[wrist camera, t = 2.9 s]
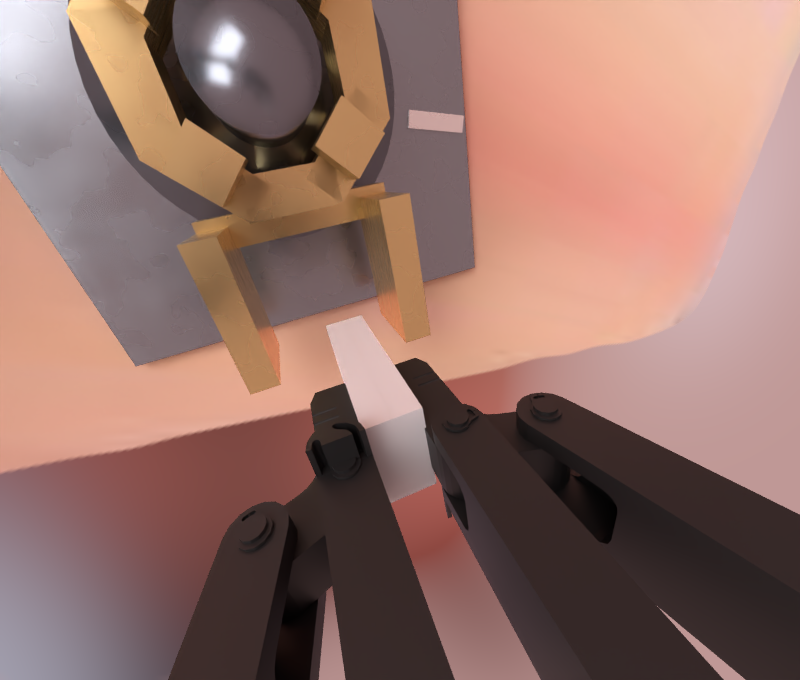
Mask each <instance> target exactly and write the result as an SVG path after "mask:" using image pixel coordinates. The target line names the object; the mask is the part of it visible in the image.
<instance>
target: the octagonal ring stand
mask: <svg viewBox="0 0 800 680" xmlns="http://www.w3.org/2000/svg"><path fill="white" fill-rule="evenodd" d="M175 1H176V0H70V2H69V5H68V8H67V10H66V12H67V14H68V16H69V18H70V20H71V22H72V24H73V26H74V28H75V30H76V32H77V34H78V36H79V38H80V40H81V42H82V44H83V46H84V48H85V50H86V53H87V55H88V57H89V59H90V61H91V63H92V65H93V67H94V69H95V71H96V73H97V75H98V77H99V79H100V81H101V83H102V85H103V87H104V89H105V91H106V93H107V95H108V97H109V99H110V101H111V103H112V105H113V107H114V110H115V112H116V114H117V116H118V118H119V120H120V122H121V124H122V126H123V128H124V130H125V132H126V134H127V136H128V138H129V140H130V142H131V144H132V146H133V148H134V150H135V152H136V154H137V156H138V158H139V160H140V161H142V162H143V163H145V164H147V165H149V166H150V167H152V168H154V169H156V170H157V171H159V172H161V173H162V174H164V175H166V176H168V177H169V178H171V179H173V180H175V181H176V182H178V183H180V184H182V185H183V186H185V187H187V188H189V189H190V190H192V191H194V192H196V193H197V194H199V195H201V196H203V197H204V198H206V199H208V200H210V201H212V202H213V203H215V204H217V205H219V206H220V207H222V208H224V209H226V210H228V211H229V212H231V214H227V215H222V216H217V217H213V218H208V219H203V220H198V221H195V222H193V223H191V224H192V226H193V229H194V231H195V233H196V234H195V235H193V236H191V237H190V238H188V239H186V240H185V241H183V242H181V243H180V244H178V245H177V248H178V250H179V252H180V254H181V256H182V258H183V260H184V262H185V264H186V266H187V268H188V270H189V272H190V274H191V276H192V278H193V280H194V282H195V284H196V286H197V288H198V290H199V292H200V294H201V296H202V298H203V300H204V302H205V304H206V306H207V308H208V310H209V312H210V314H211V316H212V318H213V320H214V322H215V324H216V326H217V328H218V330H219V332H220V334H221V336H222V338H223V340H224V342H225V344H226V346H227V348H228V350H229V352H230V354H231V356H232V358H233V360H234V362H235V364H236V366H237V368H238V370H239V372H240V374H241V376H242V378H243V380H244V382H245V384H246V386H247V388H248V390H249V392H250V394H254V393H257V392H260V391H263V390H266V389H269V388H272V387H275V386H278V385H281V382H280V357H279V343H278V341H277V338H276V336H275V333H274V331H273V328H272V326H271V323H270V321H269V318H268V316H267V314H266V311H265V309H264V306H263V304H262V301H261V299H260V296H259V294H258V291H257V289H256V287H255V284H254V282H253V279H252V277H251V274H250V272H249V269H248V267H247V264H246V262H245V260H244V257H243V255H242V252H241V250H240V248H241V247H245V246H249V245H253V244H258V243H262V242H266V241H270V240H275V239H279V238H283V237H287V236H292V235H296V234H300V233H304V232H309V231H313V230H317V229H321V228H326V227H330V226H334V225H338V224H343V223H347V222H351V221H355V220H360V221H361V225H362V230H363V234H364V239H365V243H366V248H367V252H368V257H369V261H370V266H371V270H372V275H373V279H374V284H375V288H376V293H377V297H378V302H379V306H380V311H381V314H382V315H383V316H384V317H385V318H386V320H387V321H388V322H389V323H390V324H391V325H392V327H393V328H394V329H395V330H396V331H397V332H398V334H399V335H400V336H401V337H402V338H403V340H404V341H405V342H406V343H407V342H410V341H413V340H416V339H419V338H422V337H425V336H428V335H430V328H429V321H428V314H427V307H426V301H425V294H424V287H423V280H422V273H421V267H420V260H419V253H418V246H417V240H416V233H415V226H414V219H413V212H412V206H411V199H410V193H396V192H385V187H384V182H378V183H373V184H368V185H363V186H359V187H354V188H352V186H353V184H354V182H355V180H356V179H360V177H361V175H362V173H363V172H364V170H365V168H366V166H367V164H368V163H369V161H370V159H371V157H372V155H373V154H374V152H375V150H376V148H377V147H378V145H379V143H380V141H381V139H382V138H383V136H384V134H385V133H384V132H383V130H384V128H385V127H386V125H387V123H388V121H389V119H390V115H389V108H388V102H387V95H386V89H385V83H384V76H383V70H382V64H381V57H380V51H379V45H378V38H377V32H376V26H375V19H374V13H373V7H372V0H297V2H298V3H299V4H300V6H301V8H302V9H303V11H304V12H305V14H306V16H307V18H308V20H309V22H310V24H311V26H312V28H313V31H314V33H315V36H316V38H317V39H318V40H319V41H320V42H321V45H322V50H323V54H324V59H325V63H326V68H327V72H328V77H329V81H330V86H331V90H332V95H333V99H334V104H335V105H334V106H333V108H332V110H331V112H330V114H329V116H328V118H327V120H326V122H325V124H324V126H323V128H322V130H321V132H320V133H319V135H318V137H317V139H316V141H315V143H314V145H313V147H312V149H311V150H312V151H313V152H315V153H316V155H315V157H314V159H313V160H312V162H311V163H309V164H304V165H298V166H293V167H288V168H282V169H277V170H272V171H267V172H261V173H256V174H252V173H250V172H249V171H247V170H245V167H246V165H247V163H248V160H247V159H246V158H245V157H244V156H242V155H241V154H239V153H238V152H236V151H235V150H233V149H232V148H230V147H229V146H227V145H226V144H224V143H223V142H221V141H220V140H218V139H216V138H215V137H213V136H212V135H210V134H209V133H207V132H206V131H204V130H203V129H201V128H200V127H198V126H197V125H195V124H194V123H192V122H191V121H189V120H188V119H187V117H186V115H185V112H184V110H183V107H182V105H181V102H180V100H179V98H178V95H177V93H176V90H175V88H174V85H173V83H172V80H171V78H170V75H169V73H168V71H167V68H166V66H165V63H164V61H163V58H164V56H165V53H166V51H167V48H168V46H169V43H170V41H171V38H172V36H173V11H174V4H175Z"/></svg>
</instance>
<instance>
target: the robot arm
mask: <svg viewBox="0 0 800 680" xmlns="http://www.w3.org/2000/svg"><path fill="white" fill-rule="evenodd" d="M326 329H327V332H328V335H329V338H330V341H331V344H332V348H333V351H334V354H335V357H336V360H337V363H338V366H339V370H340V373H341V376H342V379H343V382H344V383H343V384H341V385H338V386H335V387H332V388H329V389H326V390H323V391H320V392H317V393H315V395H314V397H313V400H312V402H311V404H310V405H311V411H312V416H313V424H314V430H315V432H314V433H313V434H312V436H311V437H310V439H309V440H308V442H307V446H306V454H307V456H308V458H309V460H310V463H311V465H312V467H313V470H314V472H315V474H316V476H315V478H314V480H313V482H312V483H311V484H310V485H309V486H308V488H307V489H306V490H304V491H303V492H302V493H301V494H300V495H298V496H297V497H296V498H294V499H293V500H292V501H290V502H289V503H287V504H286V505H284V506H283V505H281V504H279V503H277V502H263V503H260V504H258V505H255V506H252V507H251V508H249V509H248V510H246V511H245V512H243V513H242V514H240V516H238V518H237V519H236V520H235V521H234V522H233V523H232V524H231V525H230V527H229V528H228V530H227V532H226V533H225V535H224V537H223V539H222V541H221V544H220V547H219V549H218V552H217V555H216V557H215V559H214V562H213V565H212V567H211V570H210V572H209V575H208V578H207V580H206V583H205V585H204V588H203V591H202V593H201V596H200V599H199V601H198V604H197V606H196V609H195V612H194V614H193V617H192V619H191V622H190V624H189V627H188V630H187V632H186V635H185V637H184V640H183V642H182V645H181V648H180V650H179V653H178V656H177V658H176V661H175V663H174V666H173V669H172V671H171V674H170V676H169V679H168V680H318V679H319V668H320V656H321V646H322V635H323V623H324V613H325V601H326V591H327V590H328V589H329V588H330V587H331V586H333V593H334V600H335V607H336V615H337V622H338V628H339V636H340V642H341V650H342V657H343V664H344V671H345V678H346V680H455V679H454V677H453V674H452V671H451V669H450V666H449V663H448V660H447V657H446V655H445V652H444V649H443V646H442V644H441V641H440V638H439V636H438V633H437V630H436V628H435V624H434V622H433V619H432V616H431V613H430V611H429V608H428V605H427V602H426V599H425V597H424V594H423V591H422V589H421V586H420V583H419V581H418V578H417V575H416V572H415V569H414V566H413V564H412V561H411V558H410V556H409V553H408V550H407V547H406V545H405V542H404V539H403V536H402V534H401V531H400V528H399V526H398V522H397V520H396V517H395V514H394V511H393V509H392V506H391V503H392V502H394V501H396V500H399V499H401V498H403V497H406V496H408V495H410V494H412V493H415V492H417V491H419V490H422V489H424V488H426V487H429V486H431V485H433V484H436V479H435V474H436V475H437V477H438V479H439V481H440V483H441V485H442V490H443V496H444V501H445V507H446V512H447V515H448V518H450V517H452V514H453V516H454V518H455V520H456V521H457V523H458V525H459V527H460V529H461V530H462V533H463V534H464V536H465V538H466V540H467V542H468V544H469V546H470V547H471V550H472V551H473V553H474V555H475V557H476V559H477V561H478V563H479V565H480V566H481V568H482V570H483V572H484V574H485V576H486V578H487V580H488V581H489V583H490V585H491V587H492V589H493V591H494V593H495V594H496V596H497V598H498V600H499V602H500V604H501V606H502V607H503V609H504V611H505V613H506V615H507V617H508V619H509V620H510V623H511V624H512V626H513V628H514V630H515V632H516V634H517V636H518V638H519V639H520V641H521V643H522V645H523V647H524V649H525V650H526V653H527V654H528V656H529V658H530V660H531V661H532V664H533V666H534V667H535V669H536V671H537V673H538V675H539V677H540V679H541V680H723V679H722V678H721V676H720V675H719V674H718V673H717V672H716V671H715V670H714V669H713V667H711V666H710V664H709V663H708V662H707V661H706V660H705V659H704V658H703V657H702V655H701V654H700V653H699V652H698V651H697V650H696V649H695V648H694V647H693V645H692V644H691V643H690V642H689V641H688V640H687V639H686V638H685V637H684V635H683V634H682V633H681V632H680V631H679V630H678V629H677V628H676V627H675V625H674V624H673V623H672V622H671V621H670V620H669V619H668V618H667V617H666V616H665V615H664V614H663V612H662V611H661V610H660V609H662V610H663V611H664V612H665V613H667V614H668V615H669V616H670V617H671V618H672V619H674V620H675V621H676V622H677V623H678V624H680V625H681V626H682V627H683V628H684V629H686V630H687V631H688V632H689V633H690V634H692V635H693V636H694V637H695V638H696V639H698V640H699V641H700V642H701V643H702V644H704V645H705V646H706V647H707V648H708V649H710V650H711V651H712V652H714V654H716V655H717V656H718V657H719V658H720V659H722V660H723V661H724V662H725V663H726V664H728V665H729V666H730V667H731V668H733V669H734V670H735V671H736V672H737V673H738V674H740V675H741V676H742V677H743V678H744V679H746V680H800V515H799V514H797V513H795V512H793V511H791V510H789V509H787V508H785V507H783V506H781V505H779V504H777V503H775V502H773V501H771V500H769V499H767V498H765V497H763V496H761V495H759V494H757V493H755V492H753V491H751V490H749V489H747V488H745V487H743V486H741V485H739V484H737V483H735V482H733V481H731V480H729V479H726V478H724V477H722V476H720V475H718V474H716V473H714V472H712V471H710V470H708V469H706V468H704V467H702V466H700V465H698V464H696V463H694V462H692V461H690V460H688V459H686V458H684V457H682V456H680V455H678V454H676V453H674V452H672V451H670V450H668V449H666V448H664V447H662V446H660V445H658V444H655V443H654V442H652V441H650V440H648V439H645V438H643V437H641V436H639V435H637V434H635V433H633V432H631V431H629V430H627V429H625V428H623V427H621V426H619V425H617V424H615V423H613V422H611V421H609V420H607V419H605V418H603V417H601V416H599V415H597V414H595V413H593V412H591V411H589V410H587V409H585V408H583V407H580V406H579V405H577V404H575V403H573V402H571V401H569V400H567V399H564V398H563V397H559V396H557V395H554V394H549V393H534V394H530V395H527V396H525V397H523V398H522V399H521V400H520V401H519V402H518V403H517V408H516V412H511V413H502V414H488V415H487V414H483V413H482V412H480V411H479V410H478V409H476V408H475V407H473V406H469V405H467V404H462V403H461V402H460V401H459V400H458V399H457V398H456V396H455V395H454V394H453V393H452V392H451V391H450V389H449V388H448V387H447V386H446V385H445V383H444V382H443V381H442V380H441V379H440V378H439V376H438V375H437V374H436V373H434V371H433V369H432V368H431V367H430V366H429V365H428V364H427V363H426V362H424V361H421V360H419V359H417V358H414V359H411V360H408V361H405V362H402V363H399V364H396V365H394V364H393V362H392V361H391V359H390V358H389V356H388V355H387V353H386V352H385V350H384V349H383V347H382V346H381V344H380V343H379V341H378V340H377V338H376V337H375V335H374V334H373V332H372V331H371V329H370V328H369V326H368V325H367V323H366V322H365V320H364V319H363V317H362V315H360V316H356V317H353V318H350V319H346V320H343V321H340V322H336V323H333V324H330V325H326ZM434 472H435V473H434ZM451 512H452V513H451ZM656 605H657V606H658V607H659V608H660V609H659V608H658V607H657V606H656Z"/></svg>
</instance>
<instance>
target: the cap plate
mask: <svg viewBox="0 0 800 680" xmlns="http://www.w3.org/2000/svg"><path fill="white" fill-rule="evenodd" d="M69 2H70V0H0V166H1V168H2V169H3V170H4V172H5V173H6V175H7V176H8V178H9V179H10V181H11V182H12V184H13V185H14V187H15V188H16V190H17V191H18V193H19V194H20V196H21V197H22V199H23V200H24V202H25V203H26V205H27V206H28V207H29V209H30V210H31V212H32V213H33V215H34V216H35V218H36V219H37V221H38V222H39V224H40V225H41V227H42V228H43V230H44V231H45V233H46V234H47V236H48V237H49V239H50V240H51V241H52V243H53V244H54V246H55V247H56V249H57V250H58V252H59V253H60V255H61V256H62V258H63V259H64V261H65V262H66V264H67V265H68V267H69V268H70V270H71V271H72V273H73V274H74V276H75V277H76V278H77V280H78V281H79V283H80V284H81V286H82V287H83V289H84V290H85V292H86V293H87V295H88V296H89V298H90V299H91V301H92V302H93V304H94V305H95V307H96V308H97V310H98V311H99V312H100V314H101V315H102V317H103V318H104V320H105V321H106V323H107V324H108V326H109V327H110V329H111V330H112V332H113V333H114V335H115V336H116V338H117V339H118V341H119V342H120V344H121V345H122V346H123V348H124V349H125V351H126V352H127V354H128V355H129V357H130V358H131V360H132V361H133V363H134V364H135V366H139V365H142V364H146V363H149V362H152V361H156V360H159V359H163V358H166V357H169V356H173V355H176V354H180V353H183V352H187V351H190V350H193V349H197V348H200V347H204V346H207V345H211V344H214V343H217V342H221V341H224V340H223V338H222V336H221V334H220V332H219V330H218V328H217V326H216V324H215V322H214V320H213V318H212V316H211V314H210V312H209V310H208V308H207V306H206V304H205V302H204V300H203V298H202V296H201V294H200V292H199V290H198V288H197V286H196V284H195V282H194V280H193V278H192V276H191V274H190V272H189V270H188V268H187V266H186V264H185V262H184V260H183V258H182V256H181V254H180V252H179V250H178V248H177V245H178V244H180V243H181V242H183V241H185V240H186V239H188V238H190V237H191V236H193V235H195V234H196V233H195V231H194V229H193V226H192V224H191V223H193V222H195V221H198V220H203V219H208V218H213V217H217V216H222V215H227V214H231V212H229V211H228V210H226V209H224V208H222V207H220V206H219V205H217V204H215V203H213V202H212V201H210V200H208V199H206V198H204V197H203V196H201V195H199V194H197V193H196V192H194V191H192V190H190V189H189V188H187V187H185V186H183V185H182V184H180V183H178V182H176V181H175V180H173V179H171V178H169V177H168V176H166V175H164V174H162V173H161V172H159V171H157V170H156V169H154V168H152V167H150V166H149V165H147V164H145V163H143V162H142V161H140V160H139V158H138V156H137V154H136V152H135V150H134V148H133V146H132V144H131V142H130V140H129V138H128V136H127V134H126V132H125V130H124V128H123V126H122V124H121V122H120V120H119V118H118V116H117V114H116V112H115V110H114V107H113V105H112V103H111V101H110V99H109V97H108V95H107V93H106V91H105V89H104V87H103V85H102V83H101V81H100V79H99V77H98V75H97V73H96V71H95V69H94V67H93V65H92V63H91V61H90V59H89V57H88V55H87V53H86V50H85V48H84V46H83V44H82V42H81V40H80V38H79V36H78V34H77V32H76V30H75V28H74V26H73V24H72V22H71V20H70V18H69V16H68V14H67V12H66V10H67V8H68V5H69ZM372 7H373V13H374V19H375V26H376V32H377V38H378V45H379V51H380V57H381V64H382V70H383V76H384V83H385V89H386V95H387V102H388V108H389V115H390V119H389V121H388V123H387V125H386V127H385V128H384V130H383V132H384V133H385V134H384V136H383V138H382V139H381V141H380V143H379V145H378V147H377V148H376V150H375V152H374V154H373V155H372V157H371V159H370V161H369V163H368V164H367V166H366V168H365V170H364V172H363V173H362V175H361V177H360V179H356V180H355V182H354V184H353V186H352V188H354V187H359V186H363V185H368V184H373V183H378V182H384V187H385V192H396V193H410V199H411V206H412V212H413V219H414V226H415V233H416V240H417V246H418V253H419V260H420V267H421V273H422V280H423V282H426V281H429V280H433V279H436V278H440V277H443V276H446V275H450V274H453V273H457V272H460V271H463V270H467V269H470V268H474V267H475V265H474V250H473V234H472V219H471V204H470V189H469V174H468V158H467V143H466V128H465V113H464V98H463V82H462V67H461V52H460V37H459V22H458V6H457V0H372ZM163 61H164V63H165V66H166V68H167V71H168V73H169V75H170V78H171V80H172V83H173V85H174V88H175V90H176V93H177V95H178V98H179V100H180V102H181V105H182V107H183V110H184V112H185V115H186V117H187V119H188V120H189V121H191V122H192V123H194V124H195V125H197V126H198V127H200V128H201V129H203V130H204V131H206V132H207V133H209V134H210V135H212V136H213V137H215V138H216V139H218V140H220V141H221V142H223V143H224V144H226V145H227V146H229V147H230V148H232V149H233V150H235V151H236V152H238V153H239V154H241V155H242V156H244V157H245V158H246V159H247V160H248V163H247V165H246V167H245V170H247V171H249V172H250V173H252V174H256V173H261V172H267V171H272V170H277V169H282V168H288V167H293V166H298V165H304V164H309V163H311V162H312V160H313V159H314V157H315V155H316V153H315V152H313V151H312V150H311V149H312V147H313V145H314V143H315V141H316V139H317V137H318V135H319V133H320V132H321V130H322V128H323V126H324V124H325V122H326V120H327V118H328V116H329V114H330V112H331V110H332V108H333V106H334V105H335V104H334V99H333V95H332V90H331V86H330V81H329V77H328V72H327V68H326V63H325V59H324V54H323V50H322V45H321V42H320V41H319V40H318V39H317V38H316V36H315V33H314V31H313V28H312V26H311V24H310V22H309V20H308V18H307V16H306V14H305V12H304V11H303V9H302V8H301V6H300V4H299V3H298V2H297V0H176V1H175V4H174V11H173V36H172V38H171V41H170V43H169V46H168V48H167V51H166V53H165V56H164V58H163ZM240 250H241V252H242V255H243V257H244V260H245V262H246V264H247V267H248V269H249V272H250V274H251V277H252V279H253V282H254V284H255V287H256V289H257V291H258V294H259V296H260V299H261V301H262V304H263V306H264V309H265V311H266V314H267V316H268V318H269V321H270V323H271V326H275V325H279V324H282V323H286V322H289V321H293V320H296V319H299V318H303V317H306V316H310V315H313V314H316V313H320V312H323V311H327V310H330V309H334V308H337V307H340V306H344V305H347V304H351V303H354V302H358V301H361V300H364V299H368V298H371V297H375V296H377V293H376V288H375V284H374V279H373V275H372V270H371V266H370V261H369V257H368V252H367V248H366V243H365V239H364V234H363V230H362V225H361V221H360V220H355V221H351V222H347V223H343V224H338V225H334V226H330V227H326V228H321V229H317V230H313V231H309V232H304V233H300V234H296V235H292V236H287V237H283V238H279V239H275V240H270V241H266V242H262V243H258V244H253V245H249V246H245V247H241V248H240Z"/></svg>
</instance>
